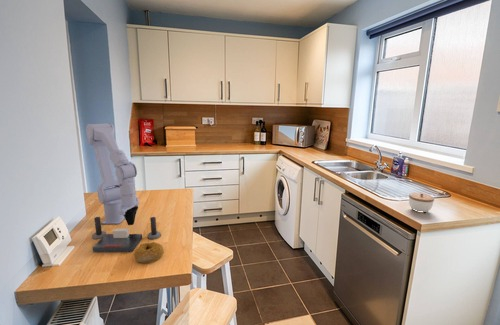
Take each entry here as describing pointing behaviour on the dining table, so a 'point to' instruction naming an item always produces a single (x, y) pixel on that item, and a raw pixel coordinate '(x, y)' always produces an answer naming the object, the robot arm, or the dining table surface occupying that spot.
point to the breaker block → (117, 243)
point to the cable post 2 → (153, 229)
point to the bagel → (148, 252)
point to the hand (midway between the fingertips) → (131, 224)
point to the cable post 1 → (98, 229)
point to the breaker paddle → (120, 233)
